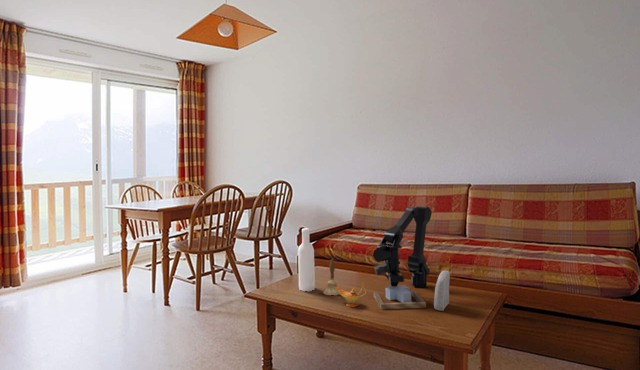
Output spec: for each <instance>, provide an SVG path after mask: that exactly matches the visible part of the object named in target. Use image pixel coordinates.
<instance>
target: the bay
mask: <svg viewBox="0 0 640 370" xmlns="http://www.w3.org/2000/svg"><path fill="white" fill-rule="evenodd" d="M410 292H411V297H412V298H413V299H414V300H415V301H411V302H403V303H402V302H386V303H385V302H384V301H383V300H382V297H381V296H380V295H379V293H378V292H377V291H374V292H373V298H374V300H375V302H376V303H377V305H378V306H379V308H380V309H381V310H397V309H398V310H399V309H401V310H402V309H421V308H422V309H423V308H424V309H425V308H427V302H426V301H425V300H424V299H423V298H422V297H421V296H420V295H419V294H418V292H417V291H416V290H411V291H410Z"/></svg>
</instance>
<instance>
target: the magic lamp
mask: <svg viewBox="0 0 640 370" xmlns="http://www.w3.org/2000/svg"><path fill="white" fill-rule="evenodd" d="M332 286H333V287H334V288H335V289H336V290H337V291H338V292H339V293H340V294H339V295H340V296H342V297H343V299H345V301H348V302H347V303H346V305H345V306H347V307H349V308H350V307H352V308H354V307H355V308H356V307H357V306H359V304H358V303H357V301H360V298H361V297H363V296H365V295H366V294H367V290H366V288H365V282H364V281H363V282H361V289H360V291H359V292H357V290H356V288H354V287H353V288H352V289H351V290H350V291H347V290H344V289H342V288H341V287H340V286H338V285H337V286H336V285H332ZM363 290H364V292H365V293H363V294H362V295H360V294H361V293H362V291H363Z"/></svg>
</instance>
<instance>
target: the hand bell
mask: <svg viewBox="0 0 640 370" xmlns="http://www.w3.org/2000/svg"><path fill="white" fill-rule="evenodd" d="M328 267H329V272H330V277H329V278H330V279H329V280H328V281H327V284H326V288H325V290H324V291H323V294H324V295H326V296H331V295H334V296H338V295H341V294H340V293H339V292H338V291H337V290H336V289H335V288H334V287H333V286H332V285H336V286H338V282H337V280H335V269H336V265H335V261H334V259H330V262H329V266H328Z"/></svg>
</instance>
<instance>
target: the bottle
mask: <svg viewBox="0 0 640 370" xmlns="http://www.w3.org/2000/svg"><path fill="white" fill-rule="evenodd" d="M310 232H311V231H310V228H307V227H305V228H302V229H301V244H300V245H299V246H298V249H297V258H298V263H297V264H298V290H299V291H300V290H302V291H301V292H305V291H307V292H312V290H313V291H314V290H315V289H316V282H315V281H316V279H315V277H316V276H315V249H314V246H313V244H312V243H310Z"/></svg>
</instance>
